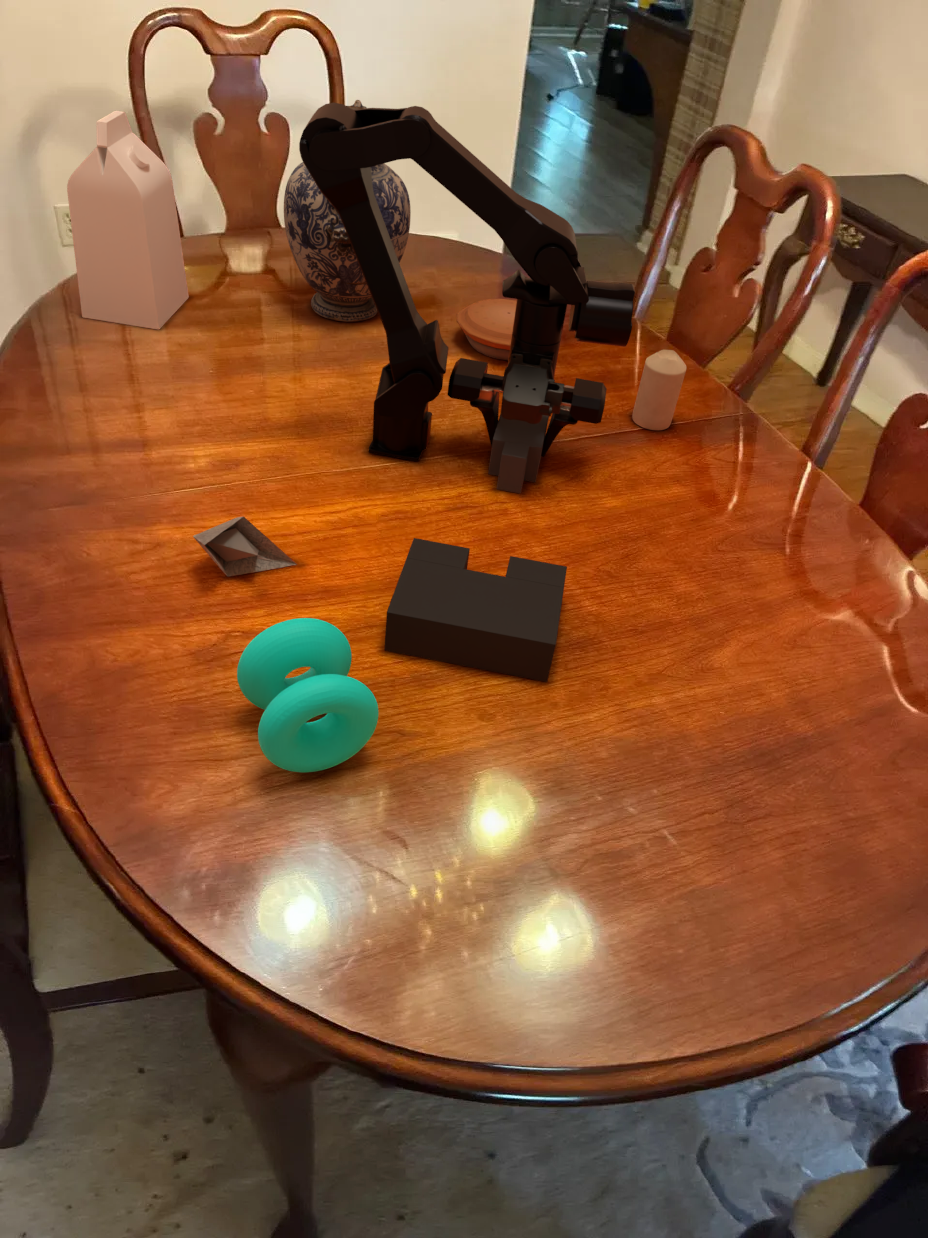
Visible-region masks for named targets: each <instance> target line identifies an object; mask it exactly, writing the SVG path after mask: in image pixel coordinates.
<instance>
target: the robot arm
mask: <svg viewBox="0 0 928 1238" xmlns="http://www.w3.org/2000/svg"><path fill="white" fill-rule="evenodd" d="M347 106H348V105H345V104H344V103H339V102H329V103H325V104H323V105H321V106H320V107H318V108H317V110H316V111H315V112H314V113H313V114H312V116H311V117H310V119H309V121H308V122H307V124H306V125H305V127H304V129H303V130H302V133H301V136H300V138H299V142H298V148H299V149H298V150H299V154H300V158H301V161H302V162H303V163H304V165H305V166H306V168H307V170H308V171H309V173H310V175H311V176H312V178H313V180H314V181H315V183H316V185H317V186H318V188H319V190H320V191H321V192H322V194H323V195H324V196H325V197H326V198H327V199H328V201H329V202H330V203H331V204H332V205H333V206H334V208H335V209H336V210H337V212H338V213H339V215H340V218H341V220H342V223H343V225H344V228H345V230H346V233H347V235H348V238H349V240H350V243H351V245H352V248H353V251H354V253H355V256H356V258H357V261H358V263H359V266H360V268H361V271H362V273H363V276H364V278H365V281H366V283H367V286H368V288H369V291H370V293H371V296H372V299H373V301H374V304H375V306H376V309H377V313H378V314H377V315H378V316H379V319H380V321H381V323H382V325H383V328H384V331H385V336H386V342H387V351H388V363H387V364H385V365H384V366H383V367H382V369H381V372H380V377H379V382H378V386H377V390H376V394H375V399H374V401H373V413H372V414H373V415H372V416H373V417H372V418H373V419H372V421H373V422H372V438H371V439H372V440H371V442H370V443H369V445H368V452H369V453H370V454H375V455H381V456H385V457H386V456H387V457H390V458H397V459H401V460H408V461H413V462H418V461H420V459H421V457H422V454H423V452H424V451H426V450H427V448H428V445H429V443H430V440H431V429H432V419H433V413H432V412H431V411H429V403H430V402H433V401H435V399H436V398H438V396H439V395H440V393H441V391H442V390H443V384H444V377H445V374H446V373H447V366H448V365H447V364H448V357H449V346H448V345H447V344H446V343H445V341H444V339H443V337H442V335H441V328H440V323H439V320H438V319H435V320H433V321H431V322H429V323H428V322H426V321H425V320H424V318H423V317H422V316H421V315H420V314H419V312H418V310H417V308H416V305H415V301H414V300H413V296H412V294H411V291H410V288H409V286H408V283H407V280H406V278H405V277H406V276H405V275H404V271H403V269H402V266H401V264H400V263H399V261H398V258H397V255H396V253H395V250H394V247H393V245H392V242H391V239H390V236H389V234H388V231H387V228H386V226H385V223H384V220H383V217H382V215H381V212H380V209H379V206H378V204H377V201H376V198H375V196H374V192H373V185H372V176H371V168H370V167H372V166H376V165H380V164H387V163H391V162H394V161H400V160H407V159H408V160H409V159H410V160H412V161H413V162H415V164H417V165H418V166H419V167H420V168H421V169H423V170H424V171H425V172H426V173H427V174H429V176H430V177H432V178H433V179H434V180H435V181H437V182H438V183H439V184H440V185H441V186H443V187H444V188H445V189H446V190H447V191H448V192H449V193H450V194H452V195H453V196H454V197H455V198H456V199H457V200H459V201H460V202H461V203H462V204H463V205H464V206H466V207H467V208H468V209H469V210H470V211H472V212H473V213H474V214H475V215H476V216H477V217H478V218H480V220H482V221H483V222H484V223H485V224H487V225H488V226H489V227H490V229H493V230H494V231H495V233H496V234H497V235H498V236H499V238H500V239H501V240H502V242H503V243H504V245H505V246H506V248H507V250H508V251H509V253H510V254H511V256H512V257H513V259H514V260H515V261H516V262H517V264H518V265H519V266H520V267H521V268H522V270H523V271H524V272H525V274H527V276H528V277H527V276H526V275H525V274H524V273H523V271H522V270H521V269H519V268H518V269H517V270H516V271H514V273H513V274H511V275H510V276H508V277H506V278H504V279H503V280H502V286H501V287H502V288H501V294H502V297H503V298H504V299H513V300H516V301H517V304H516V310H515V317H514V324H513V331H512V338H511V345H510V352H509V358H508V360H507V365H506V366H505V369H504V372H503V375H499V374H493V373H488V368H489V367H488V366H489V362H486V361H481V360H475V359H469V358H463V357H460V358H459V359H458V360H457V361H456V362H455V363H454V366H453V368H452V370H451V373H450V376H449V380H448V385H447V396H448V397H449V398H450V399H454V400H461V401H464V402H465V401H466V402H469V404H470V406H471V407H473V408H476V409H477V410H479V411H480V413H481V414H482V417H483V419H484V422H485V426H486V430H487V435H488V438H489V439H488V440H489V443H490V446H491V448H492V442H493V437H494V434H495V431H496V427H497V424H498V420H499V415H500V414H501V415H502V417H503V418H505V419H508V420H513V419H514V420H520V421H525V422H528V423H530V424H537V423H539V422H540V421H541V419H542V415H547V416H549V417H550V420H549V422H548V425H547V429H546V435H545V438H544V443H543V448H542V453H541V458H544V457H545V456H546V454H547V453H548V451H549V449H550V447H551V446H552V444H553V443H554V441H555V439H556V438H557V437H558V435H559V433H560V432H561V431H562V430H563V429H564V428H565V427H566V426H568V425H570V426H571V425H572V426H574V425H577V424H578V422H584V423H589V424H595V425H596V424H601V423H602V419H603V416H604V415H603V414H604V411H605V405H606V397H607V389H608V388H607V387H606V385H605V384H604V382H600V381H595V380H589V379H583V378H577V377H575V380H574V385H573V386H572V385H565V383H561V382H556V379H555V375H556V369H557V364H558V358H559V352H560V347H561V342H562V335H563V330H564V324H565V320H566V313H567V308H568V305H570V309H569V316H568V317H569V318H568V331H569V332H574V339H576V341H577V342H578V343H579V342H580V343H587V344H597V345H607V346H613V347H614V346H615V347H625V348H626V347H627V345H628V343H629V341H630V338H631V334H632V330H633V321H632V319H633V312H634V299H635V295H636V290H635V286H634V284H633V283H628V282H626V283H625V282H618V283H610V282H603V281H593V280H587V278H586V272H585V267H584V266H582V264H581V262H580V259H579V255H578V254H579V253H578V247H577V246H578V245H577V238H576V233H575V230H574V228H573V226H572V225H571V223H570V222H569V221H568V220H567V219H566V218H564V217H562V216H561V215H559V214H558V213H556V212H554V211H553V210H551V209H549V208H547V206H544V205H543V204H541V203H538V202H535V201H534V200H530V199H527V198H526V197H525V196H522V195H520V194H519V193H517V191H515V190H514V189H512V188H511V186H509V185H508V184H507V183H506V182H505V181H504V180H503V179H501V178H500V177H499V176H498V175H497V174H496V173H495V172H494V171H493V170H491V169H490V168H489V167H488V166H487V165H486V164H485V163H483V162H482V161H481V160H480V159H479V158H478V157H477V156H476V155H475V154H473V152H471V151H470V150H469V149H468V148H466V146H465V145H463V144H462V143H461V142H460V141H459V140H458V139H457V138H456V137H454V136H453V135H452V134H451V133H450V132H449V131H447V130H446V129H445V128H444V127H443V126H442V125H441V124H440V123H438V122H437V121H436V119H435V118H434V116H433V114H432V113H431V112H430V111H429V110H428V109H426V108H425V107H423V106H417V105H413V106H408V107H402V108H389V107H387V108H386V107H367V108H364V109H355V110H353V109H351V108H349V107H347ZM500 394H502V397H501V405H500ZM500 406H501V407H500ZM499 409H500V414H499Z"/></svg>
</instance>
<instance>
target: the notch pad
mask: <svg viewBox="0 0 928 1238" xmlns="http://www.w3.org/2000/svg"><path fill="white" fill-rule="evenodd" d="M470 551H471V548H470V547H465V546H459V545H455V544H448V543H443V542H438V541H433V540H427V539H421V538H417V537H414V538H413V539H412V542H411V545H410V547H409V550H408V552H407V556H406V558H405V561H404V564H403V566H402V569H401V572H400V575H399V578H398V581H397V583H396V586H395V588H394V591H393V594H392V597H391V599H390V603H389V604H388V607H387V611H386V618H385V619H386V620H385V635H384V651H386V652H390V653H391V652H392V653H397V654H400V655H401V654H402V655H406V656H411V657H417V658H422V659H427V660H433V661H438V662H442V663H448V664H453V665H457V666H463V667H469V668H473V669H478V670H482V671H488V672H494V673H499V674H503V675H509V676H513V677H519V678H525V679H529V680H534V681H540V682H545V683H547V682H548V680H549V676H550V673H551V672H550V671H551V668H552V663H553V658H554V655H555V650H556V646H557V640H558V633H559V626H560V619H561V611H562V604H563V596H564V592H565V585H566V584H565V583H566V576H567V569H568V566H566V565H561V564H556V563H549V562H545V561H539V560H533V559H528V558H523V557H519V556H513V555H509V559H508V560H509V561H508V564H507V569H506V573H505V576H504V575H498V574H493V573H488V572H482V571H477V570H471V569H468V567H469V566H468V565H469V557H470Z"/></svg>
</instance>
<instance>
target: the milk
mask: <svg viewBox="0 0 928 1238" xmlns="http://www.w3.org/2000/svg"><path fill="white" fill-rule="evenodd" d="M66 188H67V189H66V191H67V201H68V209H69V218H70V225H71V234H72V243H73V251H74V258H75V260H74V261H75V268H76V276H77V277H76V278H77V286H78V293H79V294H78V295H79V301H80V302H79V303H80V310H81V311H80V312H81V317H82V318H84V319H89V320H90V319H91V320H97V321H102V322H103V321H104V322H109V323H115V324H121V325H128V326H134V327H140V328H146V329H153V330H160V329H161V328H162V327H164V325H165V324H167V322H168V321H169V320H170V318H172V316H174V314H175V313H176V312H177V311H178V310H179V309H180V308H181V306H183V305H184V304H185V302H187V300H188V299H189V298H190V296H189V289H188V282H187V275H186V266H185V259H184V254H183V246H182V239H181V232H180V225H179V217H178V212H177V204H176V198H175V197H176V195H175V190H174V183H173V178H172V174H171V171H170V170H169V168H168V167H167V165H166V163H165V162H163V160H162V159H161V158H159V156H157V154H156V153H155V152H154V151H153V150H152V149H150V147H148V146H147V144H145V143H144V142H143V141H142V140H141V139H140V137H138V135H136V134H135V133H134V132H133V130H132V126H131V125H130V122H129V118H128V115H127V113H126V111H121V110H114V111H112V112H110V113H109V114H106V115H105V116H103V117H102V118H100V119H97V120H96V147H95V148H94V149H93V150H92V151H91V152H90V153H89V154H88V155H87V157H86V158H85V159H84V160H83V161H82V162H81V163H80V164H79V165H78V167H76V169H74V171H73V172H72V174H71V175H70V177H69V179H68V180H67V184H66Z"/></svg>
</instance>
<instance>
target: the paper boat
mask: <svg viewBox="0 0 928 1238" xmlns="http://www.w3.org/2000/svg"><path fill="white" fill-rule="evenodd" d="M192 537H193V538H194V540H195V541H196V542H197V543H198V544H199V546H200V547H201V548H202V549H203V550H204V551H205V553H206V554H207V555H208V556H209V557H210V559H211V560H212V562H214V563H215V564H216V565H217V567H218V568H219V570H221V571H222V573H224V575H225V576H226V577H227V578H229V577H234V576H240V575H247V574H251V573H258V572H264V571H268V570H269V571H270V570H274V569H282V568H286V567H292V566H297V565H298V564H297V562H295V561H294V560H293V559H292V558H291V557H290V556H289V555H287V554H286V553H285V552H284V551H283V550H282V549H281V548H280V547H279V546H278V545H276V544H275V543H274V542H273V541H272V540H271V539H270V538H268V536H267V535H265V534H264V533H263V532H262V531H261V530H259V528H257V527H256V526H255V525H254V524H253V523H251V521H250V520H249V519H247V518H246V517H245V516H237V517H235V518H232V519H230V520H227V521H225V522H223V523H221V524H220V523H219V524H218V525H215V526H213V527H210V528H208V529H206V530H204V531H201V532H199V533H197V534H194V535H192Z"/></svg>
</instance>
